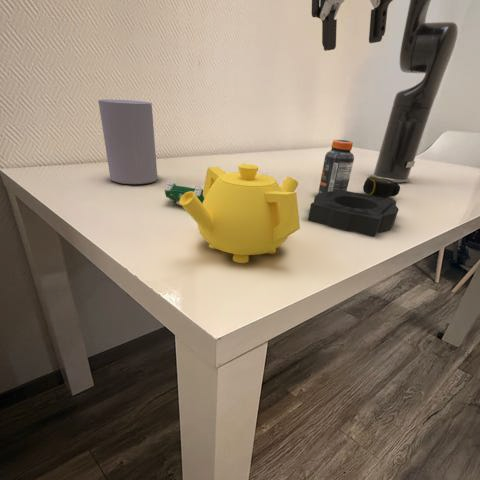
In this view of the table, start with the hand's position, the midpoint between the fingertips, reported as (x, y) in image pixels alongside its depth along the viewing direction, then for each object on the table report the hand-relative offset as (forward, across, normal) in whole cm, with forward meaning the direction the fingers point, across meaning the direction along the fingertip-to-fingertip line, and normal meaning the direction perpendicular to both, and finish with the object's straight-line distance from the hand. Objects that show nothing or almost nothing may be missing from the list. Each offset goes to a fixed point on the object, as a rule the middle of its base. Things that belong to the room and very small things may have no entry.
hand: (351, 46), depth 52 cm
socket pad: (+26, -5, +4) cm, 26 cm away
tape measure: (+29, +2, -16) cm, 33 cm away
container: (+18, +37, +28) cm, 49 cm away
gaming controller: (+20, +15, +26) cm, 36 cm away
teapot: (+21, -6, +30) cm, 37 cm away
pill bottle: (+26, +6, -4) cm, 27 cm away
